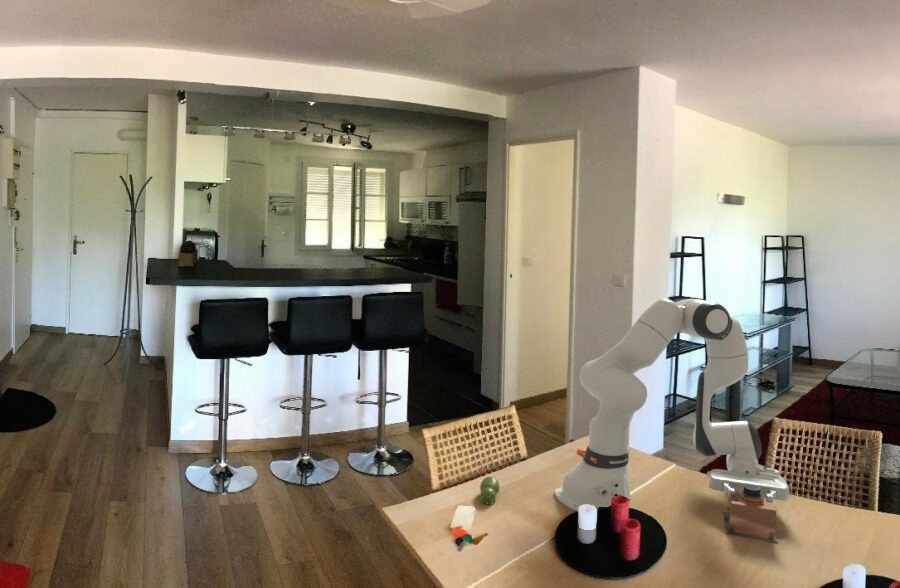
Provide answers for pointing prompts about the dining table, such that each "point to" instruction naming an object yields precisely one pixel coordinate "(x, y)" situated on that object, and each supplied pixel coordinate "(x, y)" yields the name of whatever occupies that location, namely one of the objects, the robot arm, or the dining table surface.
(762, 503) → the supplement bottle
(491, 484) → the green rounded lumpy piece
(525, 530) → the dining table surface
